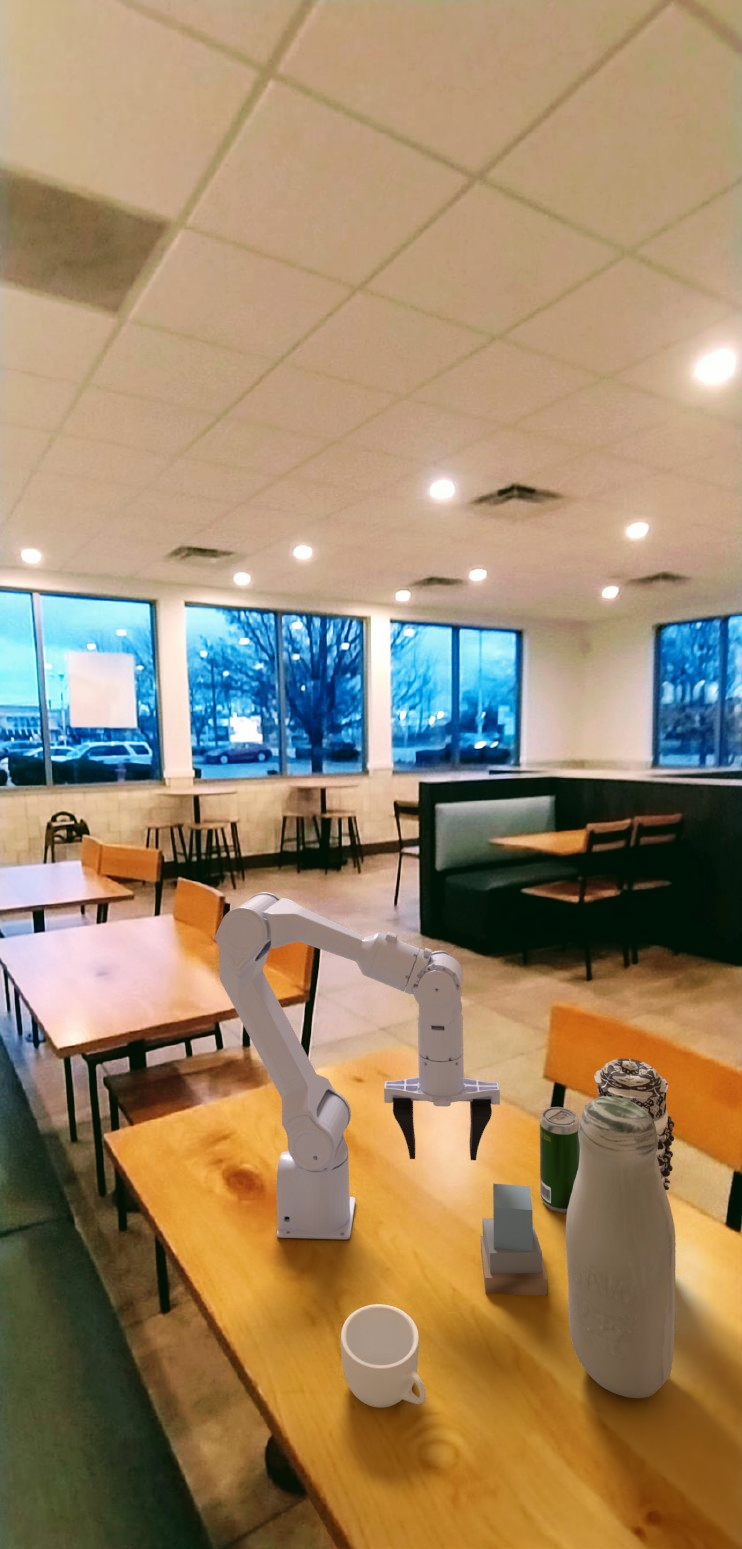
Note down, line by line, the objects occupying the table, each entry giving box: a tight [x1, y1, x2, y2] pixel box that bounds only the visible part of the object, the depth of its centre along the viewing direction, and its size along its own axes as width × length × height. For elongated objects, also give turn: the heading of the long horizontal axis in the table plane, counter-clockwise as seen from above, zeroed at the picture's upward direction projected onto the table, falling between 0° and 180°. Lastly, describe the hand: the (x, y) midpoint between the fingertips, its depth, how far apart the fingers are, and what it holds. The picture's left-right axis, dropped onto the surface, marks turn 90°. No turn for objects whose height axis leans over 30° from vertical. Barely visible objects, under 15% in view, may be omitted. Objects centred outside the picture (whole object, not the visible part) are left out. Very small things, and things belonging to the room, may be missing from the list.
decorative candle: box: [593, 1058, 675, 1194], centre depth 86 cm, size 9×9×25 cm
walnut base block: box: [480, 1235, 548, 1296], centre depth 87 cm, size 7×7×2 cm
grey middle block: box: [482, 1217, 543, 1274], centre depth 87 cm, size 6×6×2 cm
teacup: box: [340, 1303, 427, 1409], centre depth 72 cm, size 10×8×5 cm
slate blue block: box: [492, 1182, 534, 1251], centre depth 87 cm, size 4×4×5 cm
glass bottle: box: [565, 1096, 677, 1399], centre depth 72 cm, size 10×10×28 cm
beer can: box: [539, 1106, 580, 1214], centre depth 100 cm, size 5×5×12 cm
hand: (442, 1155), depth 94 cm, fingers open, 7 cm apart
